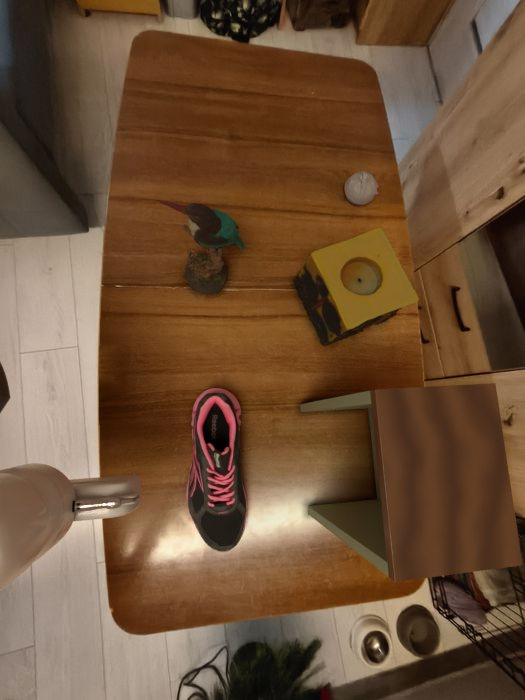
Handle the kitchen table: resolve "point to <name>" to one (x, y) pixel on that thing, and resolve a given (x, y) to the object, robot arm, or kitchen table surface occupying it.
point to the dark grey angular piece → (360, 516)
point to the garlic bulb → (360, 188)
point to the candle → (353, 286)
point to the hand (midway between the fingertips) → (66, 490)
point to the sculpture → (207, 245)
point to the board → (443, 481)
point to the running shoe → (217, 470)
